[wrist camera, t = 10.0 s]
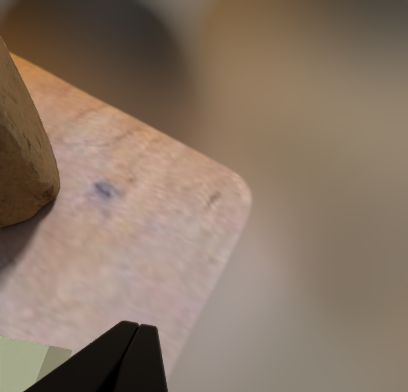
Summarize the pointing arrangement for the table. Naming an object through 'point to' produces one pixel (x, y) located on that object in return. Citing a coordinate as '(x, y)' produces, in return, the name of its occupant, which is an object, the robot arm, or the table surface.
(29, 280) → the table surface
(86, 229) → the table surface
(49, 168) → the brown stone
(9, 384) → the sage cube
